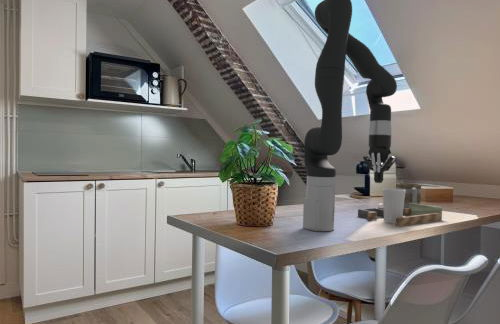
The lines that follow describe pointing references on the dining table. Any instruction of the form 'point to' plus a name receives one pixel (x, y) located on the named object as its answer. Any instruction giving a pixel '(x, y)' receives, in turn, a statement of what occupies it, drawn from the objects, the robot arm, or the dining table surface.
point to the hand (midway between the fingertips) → (378, 182)
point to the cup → (393, 204)
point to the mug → (410, 193)
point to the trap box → (407, 214)
